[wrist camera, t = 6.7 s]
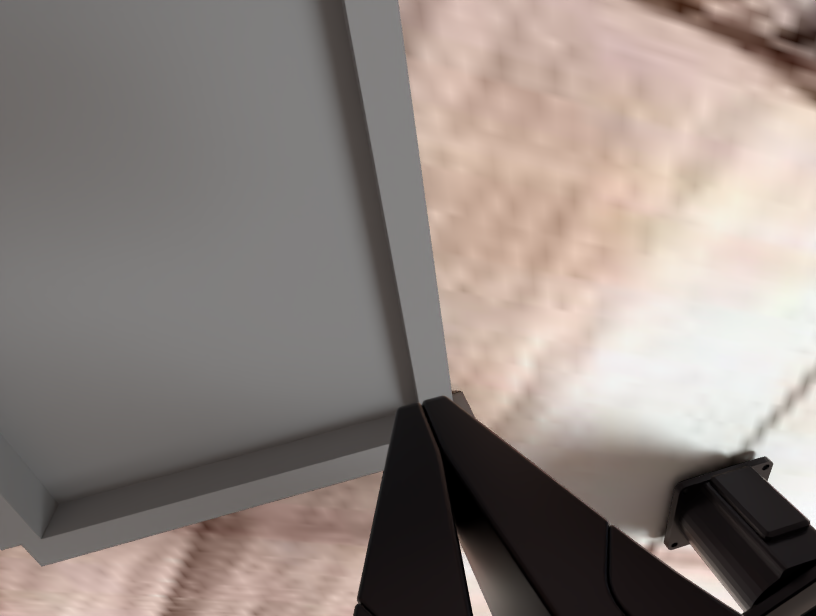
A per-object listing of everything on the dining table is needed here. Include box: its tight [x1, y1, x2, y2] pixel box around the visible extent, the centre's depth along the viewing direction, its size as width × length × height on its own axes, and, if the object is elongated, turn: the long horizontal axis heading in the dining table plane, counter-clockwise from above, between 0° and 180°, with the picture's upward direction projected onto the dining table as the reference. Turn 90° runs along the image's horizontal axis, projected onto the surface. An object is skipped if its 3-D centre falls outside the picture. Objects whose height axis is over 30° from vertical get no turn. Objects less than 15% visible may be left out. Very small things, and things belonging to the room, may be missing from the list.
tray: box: [0, 0, 475, 566], centre depth 16 cm, size 22×20×2 cm
